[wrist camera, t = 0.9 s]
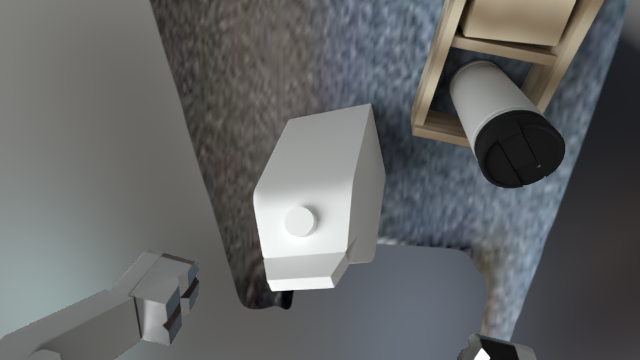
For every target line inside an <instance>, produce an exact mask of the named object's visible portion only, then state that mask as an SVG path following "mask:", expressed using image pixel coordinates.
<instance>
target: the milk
mask: <svg viewBox="0 0 640 360" xmlns="http://www.w3.org/2000/svg"><path fill="white" fill-rule="evenodd" d="M385 178H386V173H385V168H384V164H383V159H382V154H381V149H380V144H379V139H378V134H377V130H376V125H375V120H374V115H373V110H372V105H371V103H370V104H365V105H360V106H354V107H349V108H344V109H339V110H334V111H329V112H324V113H319V114H314V115H309V116H304V117H299V118H294V119H289V120H288V122H287V124H286V127H285V129H284V131H283V133H282V135H281V137H280V139H279V141H278V143H277V145H276V147H275V149H274V151H273V153H272V155H271V157H270V159H269V161H268V163H267V165H266V167H265V170H264V172H263V174H262V176H261V178H260V180H259V182H258V184H257V186H256V188H255V191H254V209H255V215H256V221H257V226H258V232H259V237H260V243H261V248H262V254H263V257H264V258H265V259H264V265H265V271H266V277H267V281H268V283H269V285H270V287H271V290H272V291H282V290H300V289H319V288H334V287H335V286H336V284H337V283H338V281H339V280H340V278H341V276H342V275H343V273H344V272H345V270H346V269H347V267H348V265H349V264H352V263H364V262H370V261H372V260H373V258H374V255H375V250H376V243H377V235H378V228H379V221H380V214H381V207H382V199H383V192H384V185H385Z"/></svg>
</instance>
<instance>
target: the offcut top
mask: <svg viewBox="0 0 640 360" xmlns="http://www.w3.org/2000/svg"><path fill="white" fill-rule="evenodd" d="M575 2H576V0H471V3H470V6H469V10H468V14H467V17H466V21H465V25H464V28H463V32H462V33H463V34H464V35H465V36H466V37H475V38H484V39H494V40H503V41H512V42H522V43H531V44H540V45H550V46H557V44H558V42H559V40H560V37H561V35H562V33H563V30H564V28H565V25H566V23H567V21H568V18H569V16H570V14H571V11H572V9H573V6H574V4H575Z"/></svg>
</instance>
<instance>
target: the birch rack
mask: <svg viewBox="0 0 640 360" xmlns="http://www.w3.org/2000/svg"><path fill="white" fill-rule="evenodd" d="M465 2H466V0H445V3H444V6H443V10H442V13H441V16H440V19H439V22H438V26H437V29H436V32H435V35H434V38H433V42H432V45H431V48H430V51H429V54H428V57H427V61H426V64H425V67H424V70H423V73H422V77H421V80H420V83H419V86H418V89H417V92H416V96H415V99H414V102H413V105H412V108H411V112H410V117H411V126H412V135H414V136H419V137H424V138H428V139H433V140H438V141H442V142H447V143H452V144H456V145H461V146H466V147H470V148H471V145H470V143H469V140H468V138H467V136H466V133H465V131H464V128H463V126H462V123H461V121H460V118H459V116H458V115H453V114H448V113H443V112H438V111H434V110H429V107H430V104H431V101H432V98H433V95H434V92H435V89H436V86H437V83H438V80H439V77H440V74H441V72H442V69H443V66H444V63H445V60H446V57H447V54H448V51H449V48H450V46H451V47H456V48H461V49H466V50H471V51H476V52H482V53H487V54H492V55H497V56H502V57H507V58H512V59H517V60H522V61H527V62H532V63H533V64H532V66H531V68H530V70H529V72H528V74H527V76H526V78H525V80H524V82H523V84H522V87H521V89H520V90H521V91H522V92H523V94H524V95H525V96H526V97H527V98H528V99H529V100H530V101H531V102H532V103H533V104H534V105H535V106H536V107H537V109H538V110H539V111H540V112H541V113H542V114H543V113H544V111H545V109H546V107H547V106H548V104H549V102H550V100H551V98H552V96H553V94H554V93H555V91H556V89H557V87H558V85H559V83H560V81H561V80H562V78H563V76H564V74H565V72H566V70H567V68H568V67H569V65H570V63H571V61H572V59H573V57H574V56H575V54H576V52H577V50H578V48H579V46H580V44H581V43H582V41H583V39H584V37H585V35H586V33H587V31H588V30H589V28H590V26H591V24H592V22H593V20H594V18H595V17H596V15H597V13H598V11H599V9H600V7H601V5H602V4H603V2H604V0H576V2H575V4H574V6H573V9H572V11H571V14H570V16H569V18H568V21H567V23H566V25H565V28H564V30H563V33H562V35H561V37H560V40H559V42H558V44H557V46H550V45H541V46H536V45H531V44H526V43H521V42H512V41H503V40H494V39H484V38H475V37H466V36H465V35H464V34H463V33H462V32H463V31H459V30H456V28H457V25H458V22H459V19H460V16H461V13H462V10H463V7H464V4H465Z"/></svg>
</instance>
